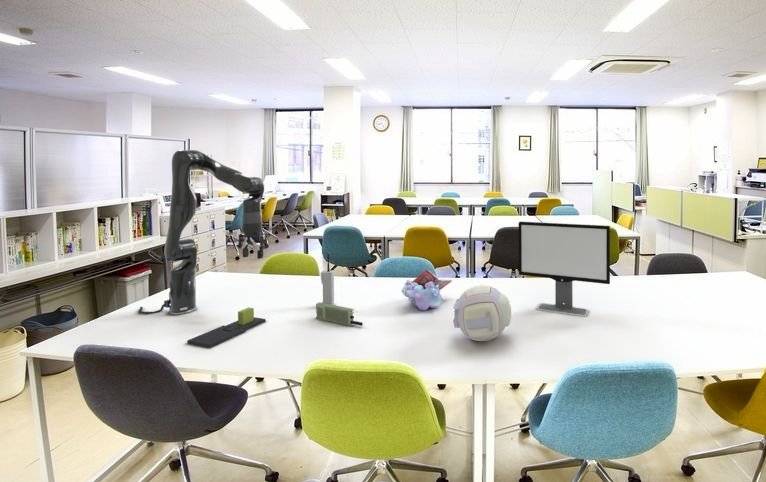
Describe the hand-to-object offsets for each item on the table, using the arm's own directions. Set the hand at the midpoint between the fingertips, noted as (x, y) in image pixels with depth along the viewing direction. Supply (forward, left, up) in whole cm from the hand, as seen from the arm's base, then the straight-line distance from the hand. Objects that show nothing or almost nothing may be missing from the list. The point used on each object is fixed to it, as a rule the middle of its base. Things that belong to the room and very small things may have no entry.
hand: (252, 257), depth 164 cm
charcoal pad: (+6, -21, -26) cm, 34 cm away
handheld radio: (+42, +5, -26) cm, 50 cm away
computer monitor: (+132, +47, -26) cm, 143 cm away
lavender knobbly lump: (+68, +35, -26) cm, 81 cm away
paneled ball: (+105, +9, -26) cm, 109 cm away
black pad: (+6, -10, -26) cm, 29 cm away
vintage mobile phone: (+24, +19, -26) cm, 40 cm away
